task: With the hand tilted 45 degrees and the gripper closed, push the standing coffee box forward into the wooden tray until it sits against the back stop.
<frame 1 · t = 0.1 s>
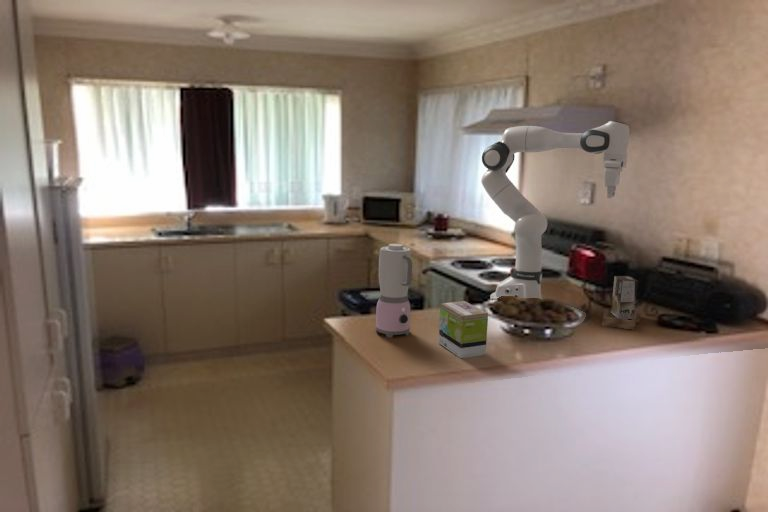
hand: (610, 197, 239), 48 cm above the worktop, tool pointing down, fingers open, 8 cm apart
tea box: (461, 350, 198), on the worktop
wooden tray: (618, 324, 231), on the worktop
coffee box: (621, 316, 243), on the worktop
blender: (395, 334, 212), on the worktop
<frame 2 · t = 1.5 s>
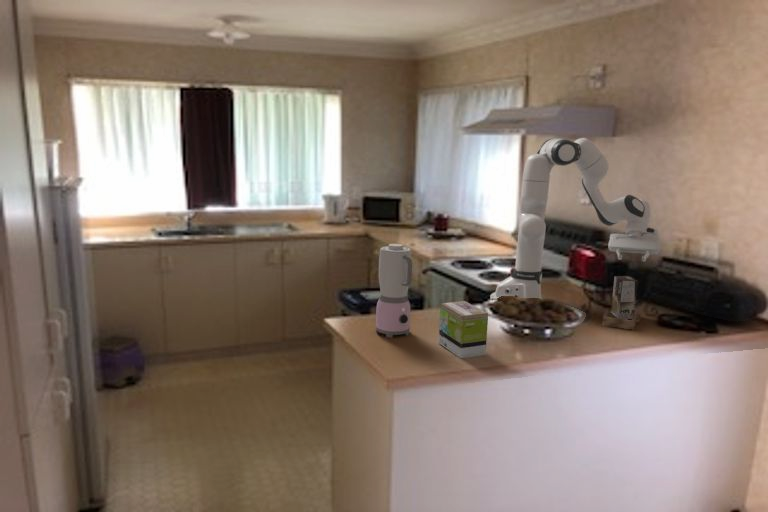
hand: (631, 259, 249), 22 cm above the worktop, tool tilted 45°, fingers open, 8 cm apart
nothing on the worktop moved.
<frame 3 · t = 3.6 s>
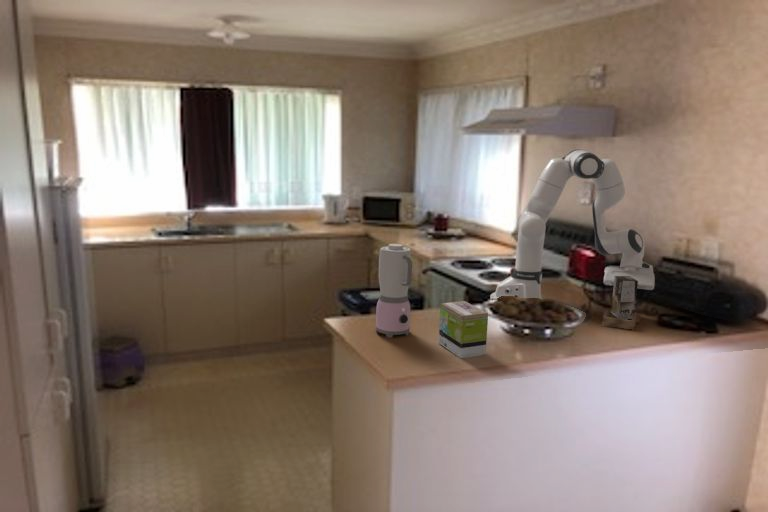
hand: (626, 294, 250), 7 cm above the worktop, tool tilted 45°, fingers closed
nothing on the worktop moved.
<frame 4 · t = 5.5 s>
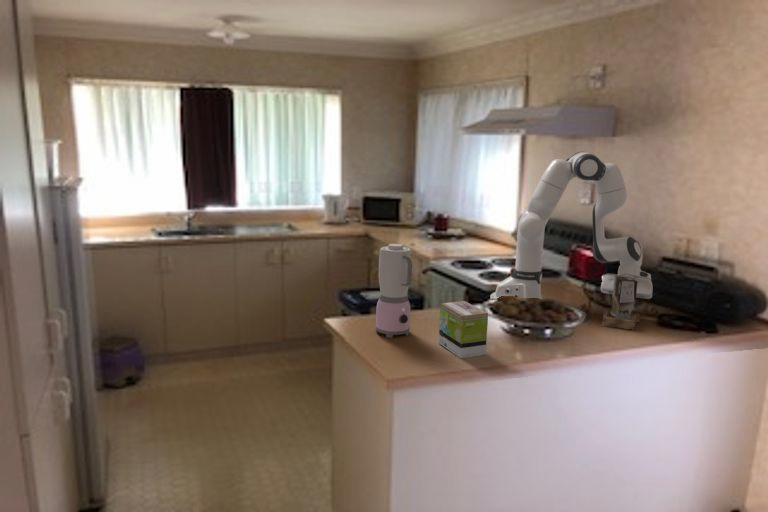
hand: (624, 303, 246), 4 cm above the worktop, tool tilted 45°, fingers closed
coffee box: (621, 317, 242), on the worktop, touching gripper
everything else where it was.
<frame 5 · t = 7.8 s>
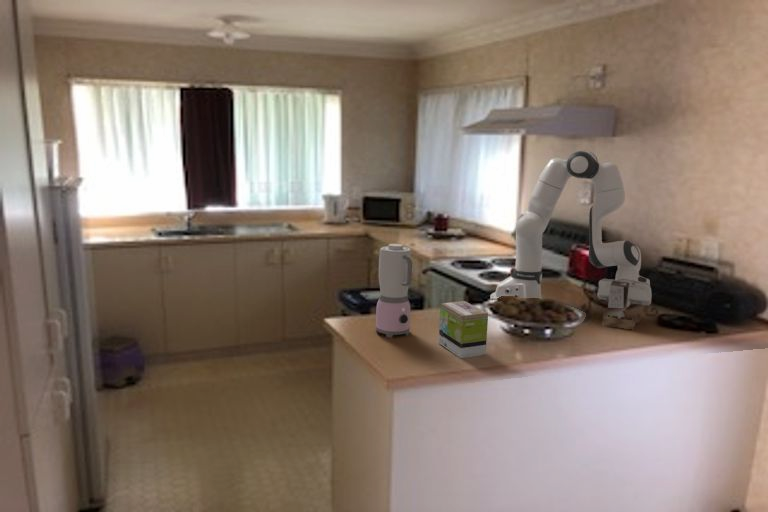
hand: (621, 310, 235), 4 cm above the worktop, tool tilted 45°, fingers closed, pressing on coffee box
coffee box: (615, 324, 232), on the worktop, touching gripper
everything else where it was.
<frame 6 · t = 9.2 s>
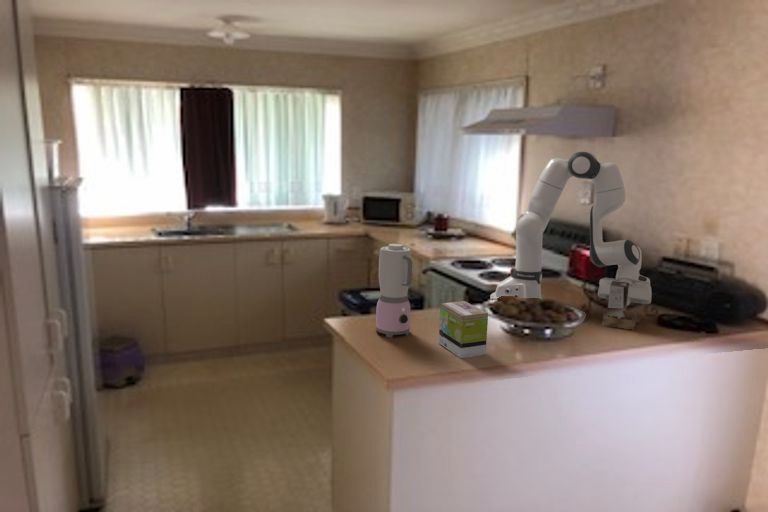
hand: (622, 308, 237), 4 cm above the worktop, tool tilted 45°, fingers closed
coffee box: (615, 324, 232), on the worktop
everything else where it was.
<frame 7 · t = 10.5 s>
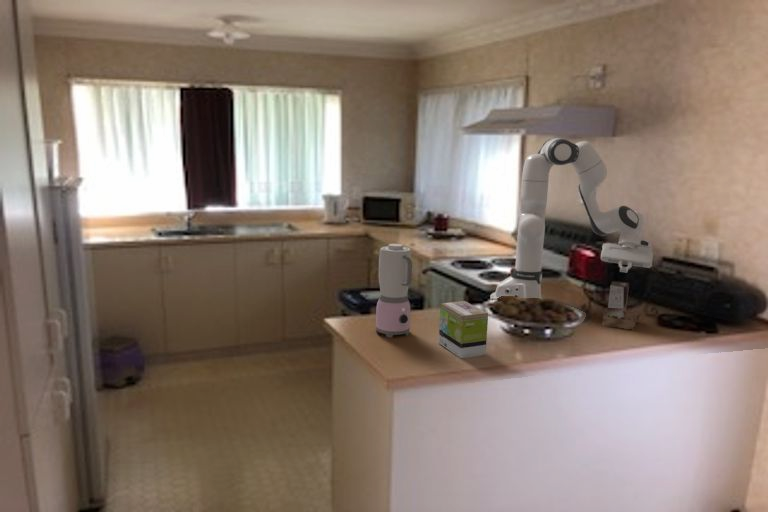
hand: (623, 271, 245), 18 cm above the worktop, tool tilted 45°, fingers closed
nothing on the worktop moved.
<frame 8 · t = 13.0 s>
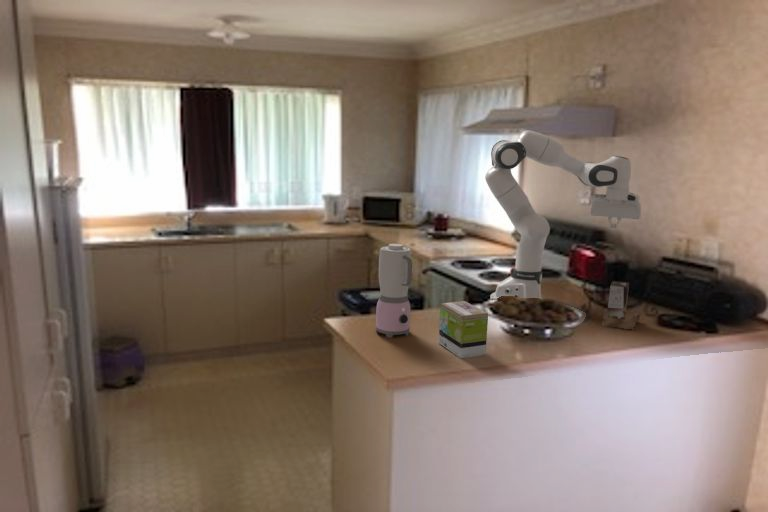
hand: (613, 227, 252), 34 cm above the worktop, tool pointing down, fingers closed
nothing on the worktop moved.
at the end: coffee box 1.3 cm from the target spot on the wooden tray, point 0.0 cm above the wooden tray's base; coffee box tilted 0°; coffee box moved 12.3 cm from its start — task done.
